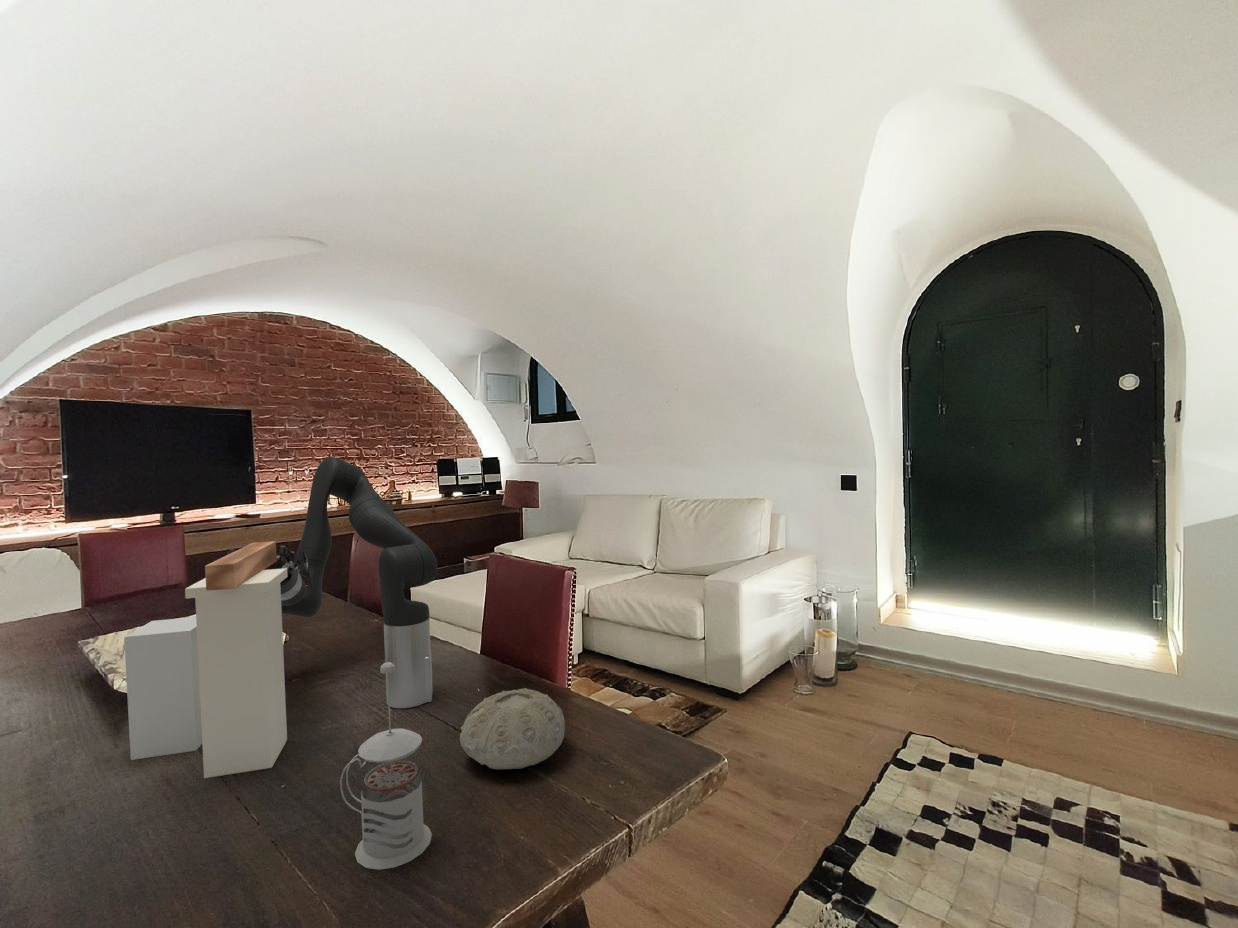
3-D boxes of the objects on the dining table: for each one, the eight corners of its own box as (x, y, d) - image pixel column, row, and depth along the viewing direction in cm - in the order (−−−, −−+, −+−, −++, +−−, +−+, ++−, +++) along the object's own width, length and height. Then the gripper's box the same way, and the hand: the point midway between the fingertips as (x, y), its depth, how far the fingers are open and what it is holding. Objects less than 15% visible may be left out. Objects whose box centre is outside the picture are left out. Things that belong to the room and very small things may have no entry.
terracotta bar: (276, 561, 118) (275, 541, 118) (234, 588, 95) (233, 563, 95) (254, 562, 117) (253, 542, 117) (206, 590, 94) (205, 565, 94)
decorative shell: (481, 797, 91) (479, 733, 90) (448, 748, 106) (446, 693, 106) (583, 761, 100) (581, 703, 100) (539, 721, 115) (538, 670, 115)
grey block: (217, 725, 117) (211, 615, 116) (196, 750, 107) (190, 630, 106) (157, 733, 114) (151, 620, 113) (130, 759, 104) (124, 636, 104)
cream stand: (294, 736, 111) (287, 568, 110) (276, 769, 100) (268, 582, 99) (221, 746, 108) (213, 573, 107) (194, 782, 97) (185, 588, 96)
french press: (416, 869, 75) (409, 676, 75) (327, 869, 76) (319, 677, 75) (441, 820, 85) (435, 649, 84) (362, 820, 86) (355, 650, 85)
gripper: (243, 564, 126) (216, 535, 112) (317, 559, 130) (300, 531, 116) (239, 598, 123) (210, 573, 109) (314, 592, 127) (296, 567, 113)
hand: (256, 551), depth 113 cm, fingers open, 8 cm apart
